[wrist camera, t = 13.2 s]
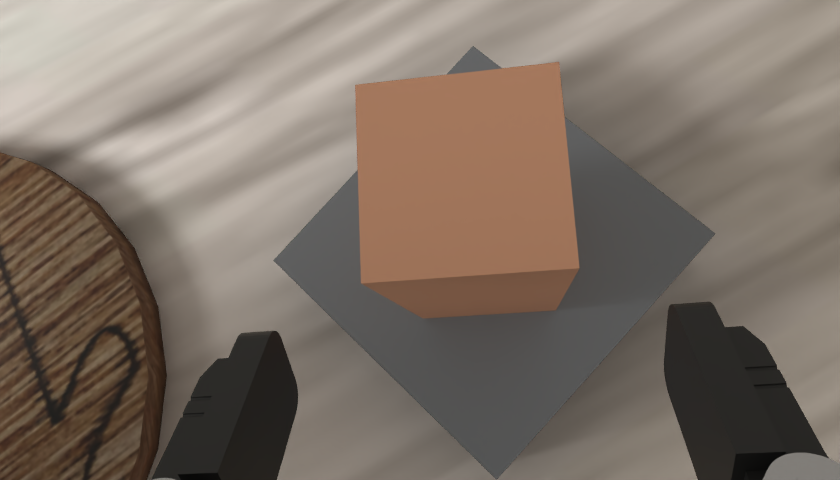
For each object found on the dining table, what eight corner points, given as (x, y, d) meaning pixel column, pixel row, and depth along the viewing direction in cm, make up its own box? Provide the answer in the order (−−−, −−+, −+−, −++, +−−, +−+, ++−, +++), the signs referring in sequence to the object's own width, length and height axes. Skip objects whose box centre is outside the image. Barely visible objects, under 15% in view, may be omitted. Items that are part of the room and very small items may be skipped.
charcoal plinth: (305, 274, 30) (273, 260, 26) (479, 87, 31) (473, 46, 27) (500, 464, 27) (496, 479, 23) (688, 253, 28) (715, 233, 24)
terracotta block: (423, 318, 25) (360, 283, 15) (416, 193, 26) (355, 84, 16) (555, 310, 24) (579, 268, 15) (544, 181, 25) (558, 61, 16)
